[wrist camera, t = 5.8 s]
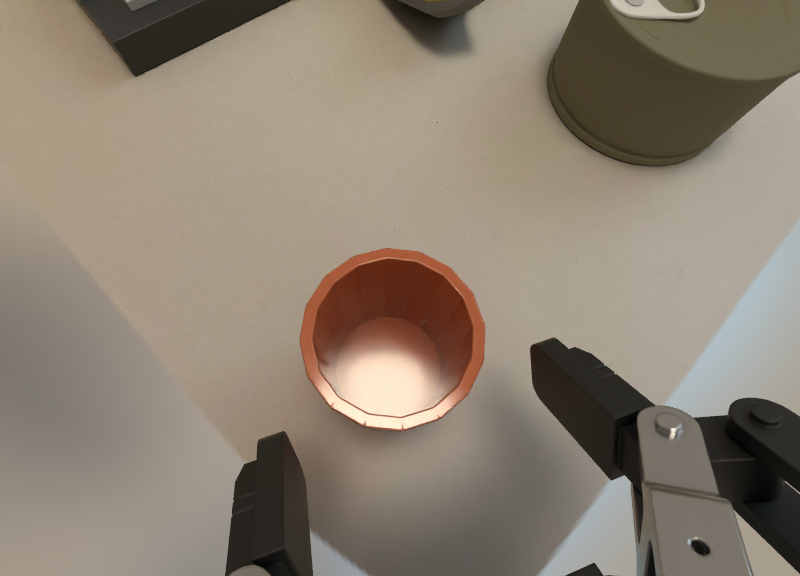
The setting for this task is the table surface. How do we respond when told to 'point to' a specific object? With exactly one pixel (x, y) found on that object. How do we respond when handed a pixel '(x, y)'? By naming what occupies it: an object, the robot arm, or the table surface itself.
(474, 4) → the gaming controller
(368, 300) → the cup
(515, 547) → the table surface
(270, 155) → the table surface
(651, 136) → the can
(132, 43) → the scale
